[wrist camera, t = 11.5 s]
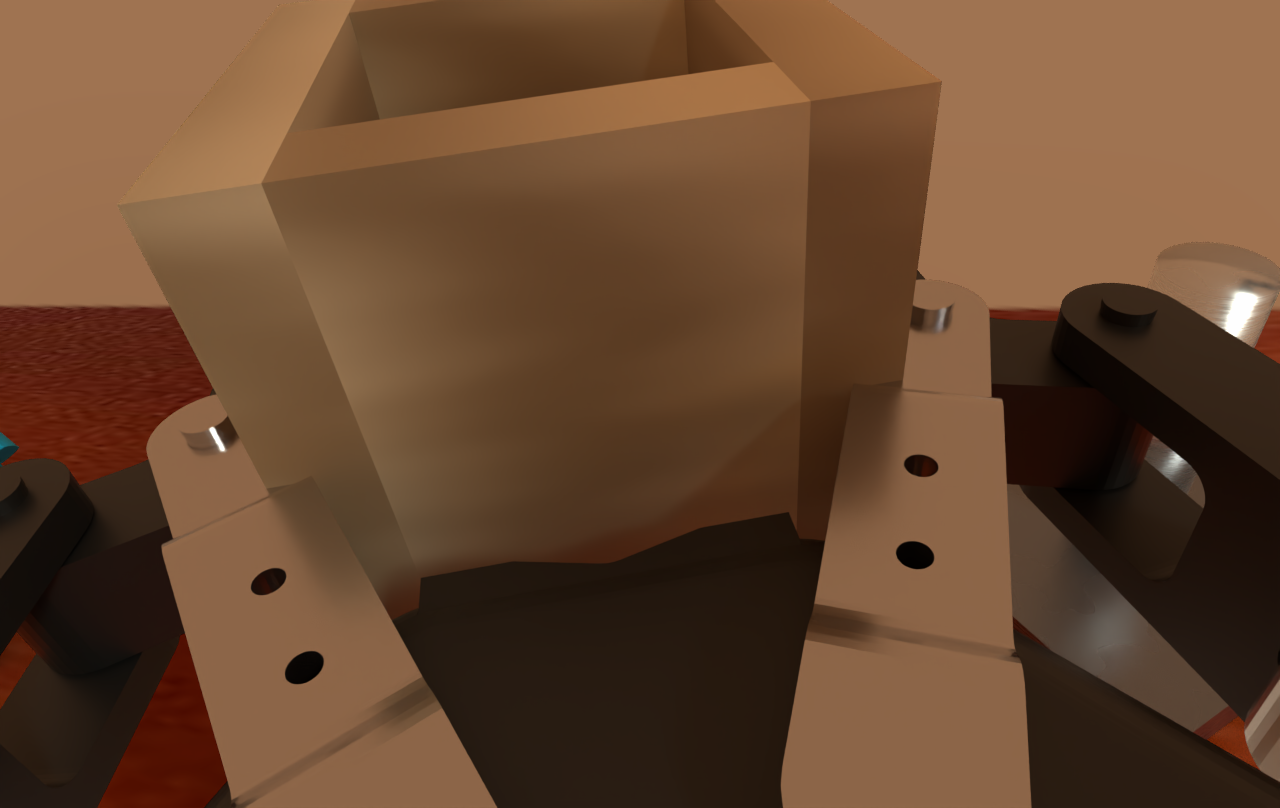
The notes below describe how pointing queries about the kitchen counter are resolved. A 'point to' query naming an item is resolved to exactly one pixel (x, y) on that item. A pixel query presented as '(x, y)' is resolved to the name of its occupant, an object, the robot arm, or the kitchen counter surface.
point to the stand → (1061, 575)
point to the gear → (6, 448)
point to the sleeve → (545, 265)
